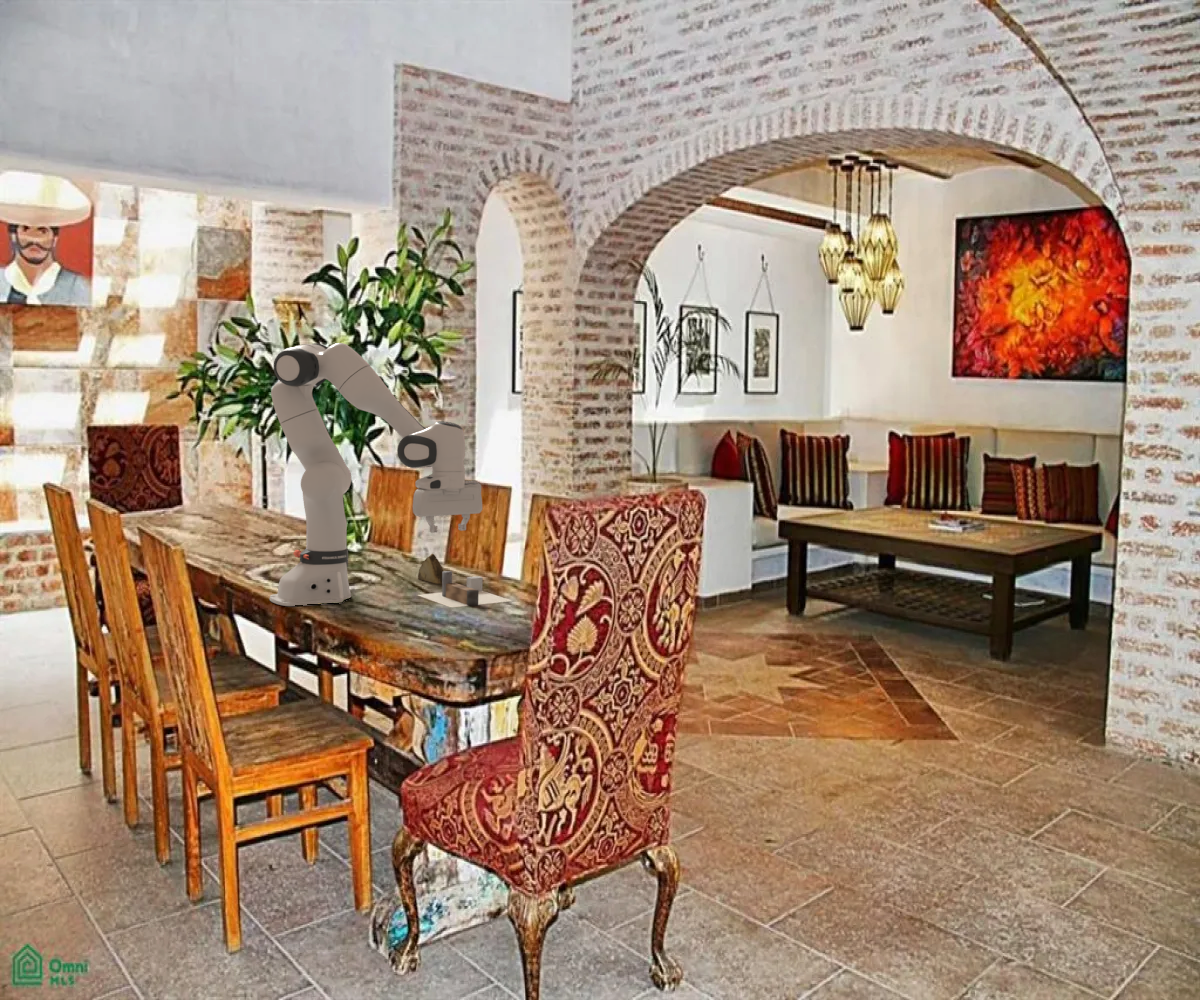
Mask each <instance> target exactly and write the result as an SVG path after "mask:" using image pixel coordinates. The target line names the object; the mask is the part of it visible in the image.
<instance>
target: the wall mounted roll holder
mask: <svg viewBox="0 0 1200 1000" xmlns="http://www.w3.org/2000/svg"><path fill="white" fill-rule="evenodd" d="M483 578H484V577H482V576H479V575H478V576H467V577H466V587H469V588H472V589H475V590H478V591H479V594H478V605H477V606H480V605H488V604H489V605H490V604H498V603H507V602H508V603H509V602H513V600H512V599H510V598H509V599H508V598H505V597H502V596H499V595H496V594H493V593H490V592H487V591H484V590H483ZM448 583H453V571H452V570H444V571H443V572H442V583H441V592H434V593H424V594H417V596H418V597H421V598H423V599H426V600H429V601H432V602H435V603H436V604H437V603H438V604H440V605H443V606H446V607H448V608H461V607H469V606H468V605H466V604H463V603H460V602H457V601H454V600H451V599H449V598H446V584H448Z"/></svg>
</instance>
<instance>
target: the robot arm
mask: <svg viewBox="0 0 1200 1000" xmlns="http://www.w3.org/2000/svg"><path fill="white" fill-rule="evenodd" d="M273 372H274V375H275V377H276V378H277V379H278V382H276V383H275V384H274V385H273V387H272V389H271V393H270V395H271V399H272V401H271V402H272V404H273V408H274V410H275V411H274V412H275V414H276V417H277V419H278V422H279V424H280V427H281V429H282V431H283V433H284V435H285V439H286V440H287V443H288V445H289V447H290V450H291V451H292V452H293V454H294V455H295V457H297V459H298V460H299V462H300V464H301V465H302V467H303V468H304V472H303V473H302V476H301V478H300V479H301V480H300V488H301V491H302V499H303V500H302V501H303V506H304V508H303V509H304V513H305V522H306V525H305V526H306V528H305V529H306V535H305V536H306V538H305V539H306V541H305V542H306V544H305V545H306V548H305V549H304V550H299V549H295V550H294V552H293V553H292V554H293V555H294V557H295V558H299V562H298V563H297V564H296V565H295V566H294V567H292V568H291V569H289V571H287V572H286V573H285V574H283V575H282V576H281V577H280V579H279V582H278V588H277V593H275V594H274V593H273V594H270V595H269V601H270V602H271V603H274V604H276V605H280V606H285V607H296V606H295V605H303V606H308V605H307V604H318V603H332V602H342V601H343V600H344V599H347V598H350V597H351V596H352V593H351V589H350V588H351V587H350V585H349V576H348V567H349V550H348V548H347V530H348V529H347V518H346V514H345V505H344V494H346V493H347V491H348V490H349V488H350V486H351V483H352V473H351V470H350V468H349V467H348V465H347V464H346V462H345V461H344V458H343V457H342V454H341V453H340V451H339V450H338V448H337V446H336V444H335V443H334V441H333V440H332V438H331V435H330V434H329V431H328V430H327V427H326V425H325V422H324V420H323V418H322V415H321V413H320V411H319V409H318V407H317V403H316V401H315V399H314V397H313V389H314V388H315V389H316V388H318V387H320V386H321V385H322V384H323V383H324V382H325V381H326V380H327V381H328V382H330V383H331V384H332V385H333V386H334V387H335V389H336V390H337V391H338V392H339V393H340V395H342V397H343V398H344V399H345V400H346V401H347V402H349V404H351V405H352V406H353V407H355V408H356V409H358V410H359V411H364V412H366V413H367V412H368V413H370V414H373V415H376V416H377V417H379V418H381V419H382V420H384V421H386V423H388V425H390V427H391V428H392V429H393V430H394V431H395V432H396V433H397V434H398V436H399V437H401V440H400V441H399V442H398V445H397V451H396V453H397V457H398V459H399V461H400V462H401V463H402V464H403V465H404V466H405V467H408V468H411V469H423V468H431V469H432V471H431V472H432V473H431V474H429V475H426V476H424V477H422V478H419V479H417V480H416V481H415V487H416V488H417V489H416V490H415V491H414V493H413V496H412V497H413V498H412V513H413V514H414V515H415V516H416V517H420V518H424V517H425V520H426V522H427V524H428V525H429V532H430V533H432V534H433V533H434V534H435V533H438V528H439V527H438V525H435V523H434V522H433V521H435V517H438V516H439V517H440V516H457V515H458V516H459V515H461V517H462V520H461V522H460V523H458V525H457V526H458V527H457V528H458V530H459V531H466V530H467V524H468V523H469V520H470V518H471V514H472V515H473V514H480V513H481V512H482V511H483V499H482V484H481V483H480V482H479V481H478V480H476V479H474V480H467V479H466V477H465V476H466V468H465V464H464V462H465V456H466V441H465V432H464V429H463V427H462V426H461V425H459V424H458V423H454V422H449V421H439V420H438V421H436V422H435V423H433V424H432V425H430V426H429V427H424V425H422V424H421V423H420V422H419V421H418V420H417V419H416V418H415V416H414V415H412V413H410V412H409V410H407V408H406V407H405V406H403V404H402V403H401V402H400V401H399V400H398V399H397V398H396V397H395V395H394V394H393V393H392V391H391V390H390V389H389V388H388V387H387V385H386V384H385V382H384V380H382V378H381V377H380V376H379V375H378V374H377V372H376V371H375V369H373V367H372V366H371V365H370V364H369V363H368V362H367V361H366V359H364V357H362V356H361V354H359V353H358V352H357V351H355V350H354V349H353V348H352V347H351V346H349V345H348V344H346V343H344V342H338V343H334V344H331V345H330V346H327V345H324V344H321V343H318V342H317V343H303V344H298V345H296V346H293V347H287V348H285V349H283V350H281V351H280V352H279V353H278V354H277V355H276V357H275V359H274V361H273ZM465 479H466V480H465Z"/></svg>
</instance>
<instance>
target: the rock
mask: <svg viewBox="0 0 1200 1000" xmlns="http://www.w3.org/2000/svg"><path fill="white" fill-rule="evenodd" d="M436 556H437V555H436V554H434V553H431V554H430V555H429V556H427V557H426V559H424V561H423V562H422V563H421V564H420V567H419V569H418V574H417V580H421V581H425V582H428V583H432V584H437V585H439V584H442V572H443V571H445V570H444V568H443V566H442V564H441V562H440V561H439V559H438V558H437V557H436Z"/></svg>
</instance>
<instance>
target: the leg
mask: <svg viewBox="0 0 1200 1000" xmlns="http://www.w3.org/2000/svg"><path fill="white" fill-rule="evenodd" d="M478 594H479V591H478V590H475V589H472V588H469V587H467V585H463V584H460V583H456V582H452V583H448V584H446V598H449V599H451V600H454V601H457V602H460V603H463V604H466V605H468V606H467V607H470V606H471V607H477V606H479V605H478Z"/></svg>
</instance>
